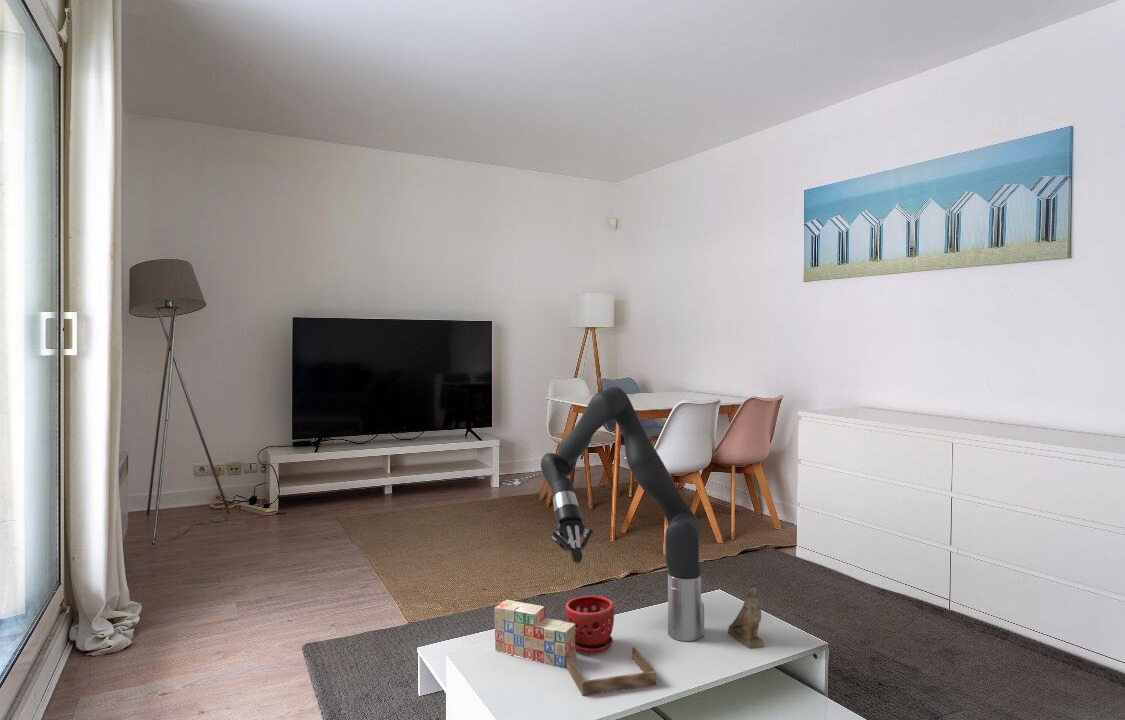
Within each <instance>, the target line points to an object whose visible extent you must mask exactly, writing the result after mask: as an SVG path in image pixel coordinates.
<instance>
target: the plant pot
mask: <svg viewBox="0 0 1125 720" xmlns="http://www.w3.org/2000/svg"><path fill="white" fill-rule="evenodd" d="M593 606H594V607H595V609H593V608H592V607H593ZM577 608H579V609H578V610H577ZM601 608H603V610H601ZM584 609H587V610H586V611H584ZM565 619H566V622H569V623H574V624H575V651H577V652H579V653H583V654H587V655H594V654H601V653H603V652H606V651H608V650H609V649H610V648H612V647H613V643H614V637H612V636H611V635H612V632H613V628H614V623H615V606H614V602H613V600H611V599H609V597H606V596H605V597H604V596H600V595H584V596H583V595H582V596H577V597H574V598H572V599H569V600H568V601H567V602H566V604H565Z"/></svg>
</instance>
